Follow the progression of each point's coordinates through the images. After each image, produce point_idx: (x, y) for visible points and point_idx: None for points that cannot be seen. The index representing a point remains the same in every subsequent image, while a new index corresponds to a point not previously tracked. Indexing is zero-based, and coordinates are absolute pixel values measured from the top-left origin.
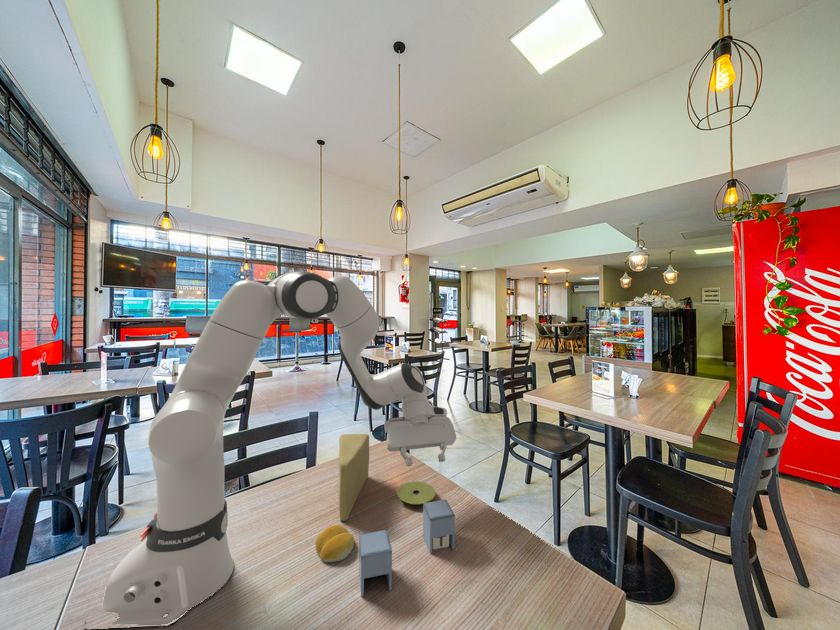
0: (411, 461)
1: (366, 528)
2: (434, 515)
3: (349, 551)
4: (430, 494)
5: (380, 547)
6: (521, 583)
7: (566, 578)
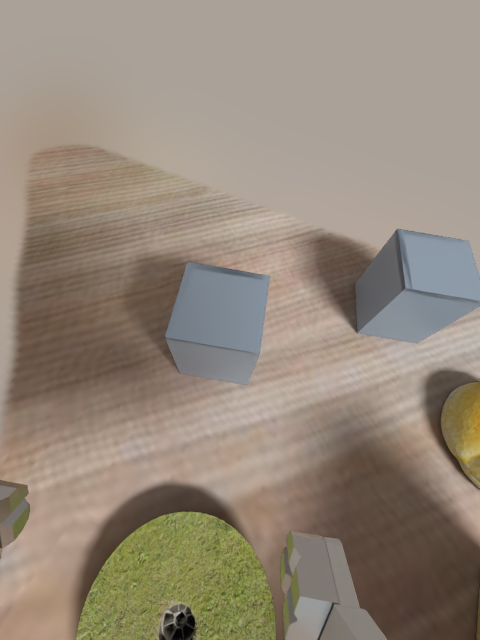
0: (299, 547)
1: (405, 488)
2: (250, 283)
3: (451, 396)
4: (126, 570)
5: (424, 245)
6: (135, 211)
7: (58, 190)
